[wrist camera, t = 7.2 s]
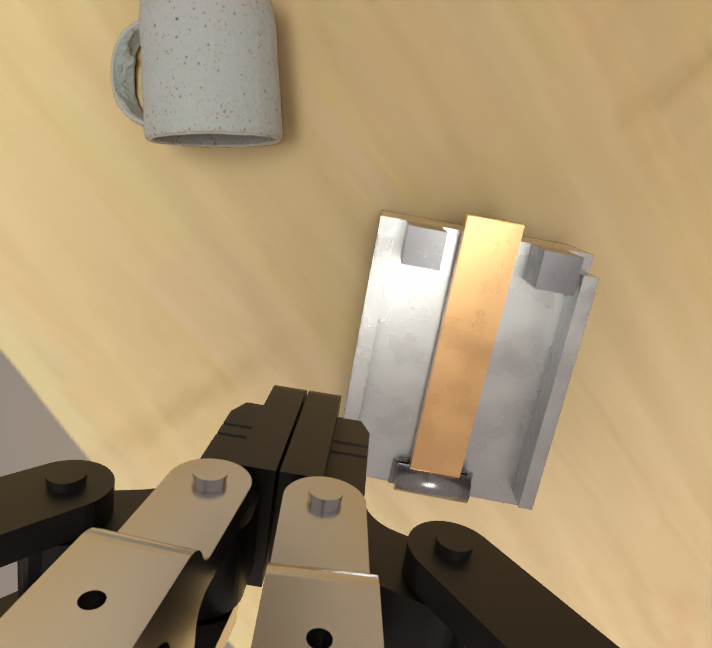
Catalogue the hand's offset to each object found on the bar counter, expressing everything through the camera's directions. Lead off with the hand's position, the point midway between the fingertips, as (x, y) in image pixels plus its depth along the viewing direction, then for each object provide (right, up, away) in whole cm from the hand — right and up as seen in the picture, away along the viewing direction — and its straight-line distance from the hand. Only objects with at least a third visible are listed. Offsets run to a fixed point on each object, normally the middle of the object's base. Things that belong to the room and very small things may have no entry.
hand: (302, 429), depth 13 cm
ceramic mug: (-8, +17, +23) cm, 30 cm away
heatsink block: (+7, +1, +26) cm, 27 cm away
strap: (+7, 0, +21) cm, 22 cm away
